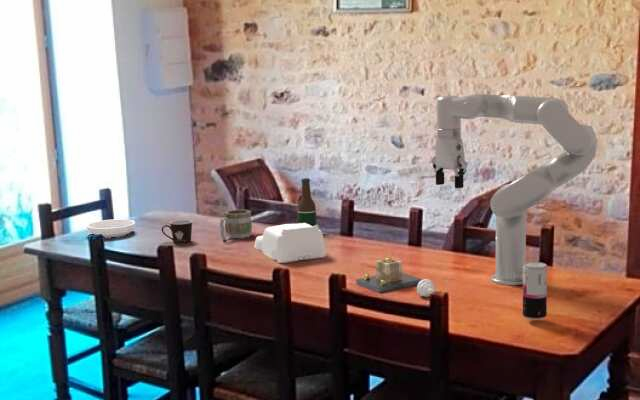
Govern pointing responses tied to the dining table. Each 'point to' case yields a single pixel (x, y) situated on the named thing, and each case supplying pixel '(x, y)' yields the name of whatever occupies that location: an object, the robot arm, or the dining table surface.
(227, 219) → the mug
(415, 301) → the dining table surface
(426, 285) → the garlic bulb
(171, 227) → the coffee mug
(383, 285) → the pin plate
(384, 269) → the beige patterned cube
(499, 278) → the robot arm
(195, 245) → the dining table surface
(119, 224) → the bowl
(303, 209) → the beer bottle
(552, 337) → the dining table surface
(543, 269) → the beverage can
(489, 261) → the dining table surface
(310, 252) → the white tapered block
